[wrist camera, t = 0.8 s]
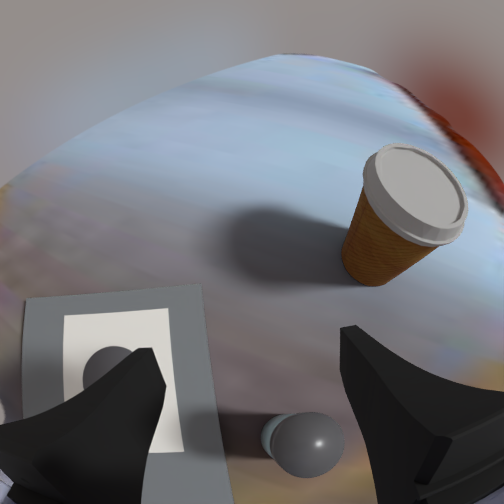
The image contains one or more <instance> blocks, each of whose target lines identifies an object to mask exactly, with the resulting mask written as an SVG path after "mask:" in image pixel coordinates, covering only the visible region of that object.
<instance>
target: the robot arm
mask: <svg viewBox="0 0 504 504" xmlns="http://www.w3.org/2000/svg"><path fill="white" fill-rule="evenodd" d="M340 372H341V377H342V381H343V384H344V388H345V392H346V394H347V397H348V399H349V402H350V404H351V407H352V409H353V412H354V414H355V417H356V419H357V422H358V425H359V427H360V430H361V432H362V435H363V438H364V441H365V444H366V448H367V452H368V456H369V460H370V464H371V469H372V474H373V479H374V483H375V489H376V495H377V501H378V504H504V392H501V391H493V390H486V389H480V388H475V387H471V386H466V385H463V384H459V383H456V382H453V381H450V380H447V379H444V378H441V377H439V376H436V375H434V374H431V373H429V372H427V371H425V370H423V369H421V368H419V367H417V366H415V365H413V364H411V363H409V362H408V361H406V360H404V359H403V358H401V357H399V356H398V355H396V354H395V353H393V352H392V351H390V350H389V349H387V348H386V347H384V346H383V345H382V344H380V343H379V342H378V341H376V340H375V339H374V338H372V337H371V336H370V335H368V334H367V333H366V332H364V331H363V330H362V329H361V328H359V327H358V326H357V325H354V326H348V327H342V328H340ZM166 387H167V386H166V383H165V381H164V378H163V376H162V373H161V370H160V368H159V365H158V362H157V360H156V357H155V354H154V351H153V349H152V347H149V348H138V349H136V350H135V351H133V352H132V353H131V354H129V355H128V356H127V357H126V358H124V359H123V360H122V361H121V362H119V363H118V364H117V365H116V366H115V367H113V368H112V369H111V370H110V371H109V372H107V373H106V374H105V375H104V376H102V377H101V378H100V379H98V380H97V381H96V382H94V383H93V384H92V385H90V386H89V387H88V388H86V389H85V390H83V391H82V392H80V393H79V394H77V395H76V396H74V397H72V398H70V399H69V400H67V401H65V402H64V403H62V404H59V405H57V406H55V407H53V408H51V409H49V410H47V411H45V412H42V413H40V414H37V415H35V416H32V417H29V418H26V419H23V420H19V421H15V422H11V423H7V424H2V425H0V469H1V470H2V471H3V472H4V473H5V474H6V475H7V476H8V477H9V478H10V479H11V480H12V481H13V482H14V483H13V485H12V487H10V486H9V485H7V484H6V483H4V482H3V481H1V480H0V504H141V498H142V489H143V480H144V473H145V468H146V462H147V457H148V453H149V449H150V446H151V443H152V440H153V437H154V434H155V431H156V428H157V425H158V422H159V418H160V415H161V412H162V409H163V405H164V399H165V393H166Z"/></svg>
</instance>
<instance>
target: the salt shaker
mask: <svg viewBox="0 0 504 504" xmlns="http://www.w3.org/2000/svg"><path fill="white" fill-rule="evenodd" d="M261 444H262V446H263V448H264V450H265V451H266V452H267V453H268V454H269V455H270V456H271V457H272V458H273V459H274V460H275V461H276V463H277V464H278V465H279V466H281V467H282V468H283V469H284V470H285V471H286V472H288V473H289V474H291V475H293V476H296V477H301V478H312V477H317V476H320V475H322V474H324V473H326V472H328V471H329V470H331V469H332V468H333V467H334V466H335V465H336V464H337V462H338V461H339V459H340V458H341V456H342V453H343V450H344V435H343V432H342V430H341V428H340V426H339V425H338V423H337V422H336V421H335V420H334V419H332V418H331V417H329V416H327V415H325V414H321V413H315V412H309V413H297V414H282V415H278V416H275V417H273V418H272V419H270V420H269V421H268V422H267V423H266V424H265V425H264V427H263V429H262V432H261Z"/></svg>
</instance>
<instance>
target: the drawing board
mask: <svg viewBox="0 0 504 504" xmlns="http://www.w3.org/2000/svg"><path fill="white" fill-rule="evenodd" d="M149 347H152V349H153V351H154V354H155V357H156V360H157V362H158V365H159V368H160V370H161V373H162V376H163V378H164V381H165V383H166V386H167V387H166V393H165V399H164V405H163V409H162V412H161V415H160V418H159V422H158V425H157V428H156V431H155V434H154V437H153V440H152V443H151V446H150V449H149V453H148V457H147V462H146V468H145V473H144V480H143V489H142V498H141V504H234V499H233V494H232V489H231V484H230V479H229V474H228V469H227V463H226V458H225V452H224V447H223V441H222V435H221V429H220V423H219V417H218V410H217V404H216V397H215V390H214V383H213V376H212V369H211V361H210V354H209V346H208V338H207V330H206V321H205V312H204V303H203V293H202V286H201V283H200V284H190V285H181V286H171V287H160V288H150V289H139V290H128V291H117V292H105V293H93V294H81V295H67V296H54V297H40V298H27V299H26V307H25V317H24V328H23V343H22V407H23V419H26V418H29V417H32V416H35V415H37V414H40V413H42V412H45V411H47V410H49V409H51V408H53V407H55V406H57V405H59V404H62V403H64V402H65V401H67V400H69V399H70V398H72V397H74V396H76V395H77V394H79V393H80V392H82V391H83V390H85V389H86V388H88V387H89V386H90V385H92V384H93V383H94V382H96V381H97V380H98V379H100V378H101V377H102V376H104V375H105V374H106V373H107V372H109V371H110V370H111V369H112V368H113V367H115V366H116V365H117V364H118V363H119V362H121V361H122V360H123V359H124V358H126V357H127V356H128V355H129V354H131V353H132V352H133V351H135V350H136V349H138V348H149Z"/></svg>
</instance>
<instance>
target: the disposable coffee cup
mask: <svg viewBox="0 0 504 504" xmlns="http://www.w3.org/2000/svg"><path fill="white" fill-rule="evenodd" d="M467 214H468V202H467V198H466V194H465V192H464V190H463V188H462V186H461V184H460V182H459V181H458V179H457V178H456V177H455V175H454V174H453V173H452V171H451V170H450V169H449V168H448V167H447V166H446V165H444V164H443V163H442V162H441V161H440V160H439V159H437V158H436V157H435V156H433V155H432V154H430V153H428V152H426V151H425V150H422V149H420V148H417V147H414V146H412V145H408V144H402V143H393V144H388V145H386V146H384V147H383V148H381V149H380V150H379V151H378V152H377V153H375V154H373V155H372V156H370V157H369V159H368V160H367V161H366V164H365V167H364V170H363V188H362V191H361V194H360V197H359V201H358V204H357V207H356V209H355V213H354V216H353V219H352V221H351V225H350V228H349V230H348V233H347V236H346V239H345V242H344V244H343V247H342V252H341V253H342V260H343V264H344V266H345V268H346V270H347V271H348V273H349V274H350V275H351V276H352V277H353V278H354V279H356V280H357V281H358V282H360V283H362V284H365V285H368V286H381V285H384V284H386V283H387V282H389V281H390V280H392V279H393V278H395V277H396V276H398V275H399V274H401V273H402V272H404V271H405V270H407V269H408V268H409V267H411V266H412V265H414V264H415V263H417V262H418V261H419V260H421V259H422V258H424V257H425V256H427V255H428V254H429V253H431V252H432V251H433V250H435V249H436V248H437V247H439V246H443V245H445V244H449V243H451V242H453V241H454V240H455V239H457V238H458V237H459V236H460V234H461V233H462V231H463V228H464V222H465V220H466V217H467Z"/></svg>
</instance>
